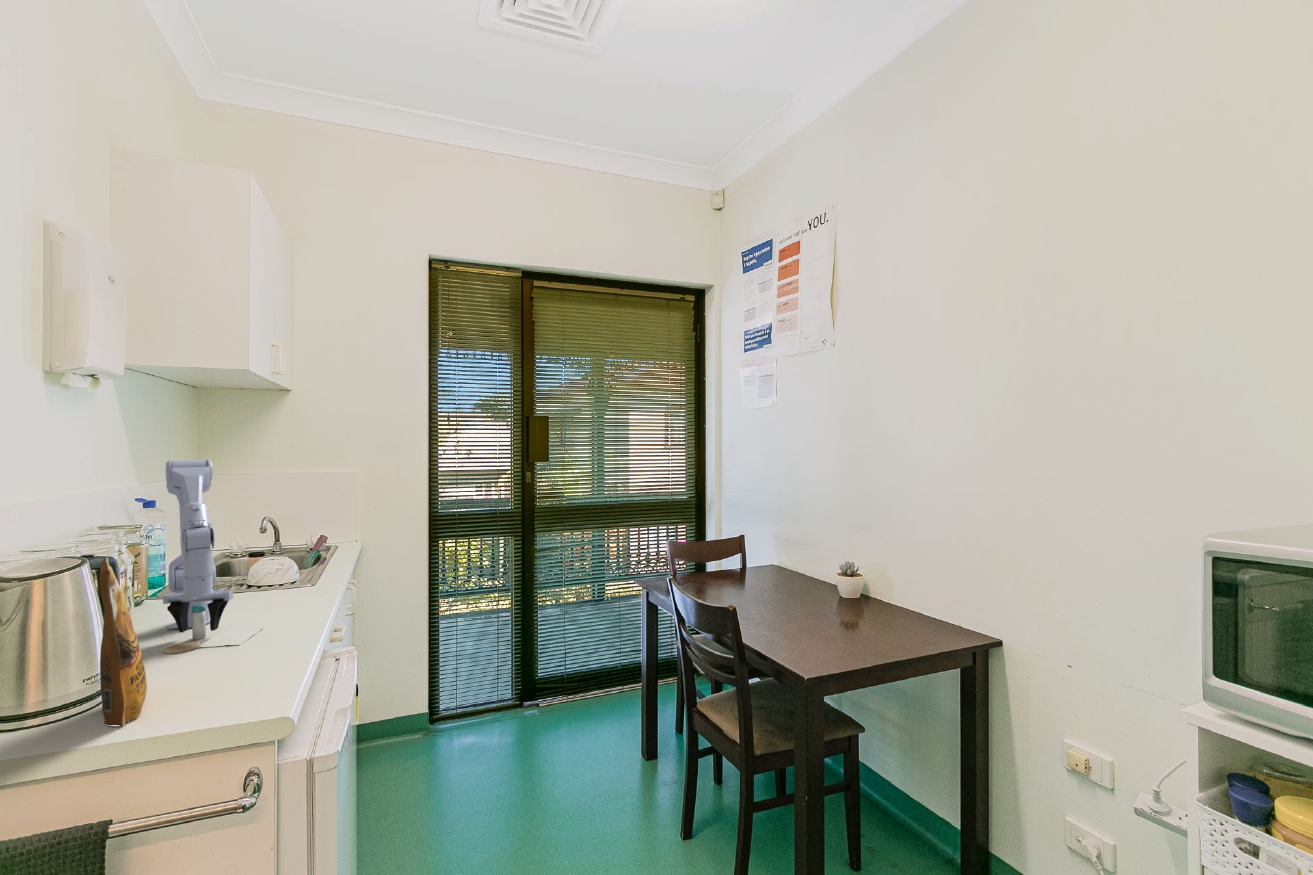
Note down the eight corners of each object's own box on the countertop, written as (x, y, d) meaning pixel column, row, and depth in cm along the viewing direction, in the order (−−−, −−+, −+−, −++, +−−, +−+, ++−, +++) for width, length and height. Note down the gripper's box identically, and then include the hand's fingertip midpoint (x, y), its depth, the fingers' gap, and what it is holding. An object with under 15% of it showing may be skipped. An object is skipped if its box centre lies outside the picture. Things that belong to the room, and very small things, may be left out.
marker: (196, 637, 149) (195, 605, 149) (208, 636, 150) (207, 604, 150) (189, 640, 146) (189, 608, 146) (202, 640, 147) (201, 607, 147)
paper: (224, 631, 153) (224, 630, 153) (263, 629, 155) (263, 628, 155) (197, 648, 141) (197, 647, 141) (239, 645, 143) (239, 644, 143)
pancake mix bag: (85, 738, 100) (83, 571, 99) (105, 697, 115) (102, 553, 115) (139, 727, 103) (136, 566, 103) (150, 688, 119) (148, 549, 119)
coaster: (174, 644, 144) (174, 642, 144) (207, 642, 145) (207, 640, 145) (156, 655, 137) (156, 653, 137) (190, 652, 138) (190, 651, 138)
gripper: (154, 581, 143) (155, 637, 143) (222, 578, 145) (223, 633, 145) (172, 574, 150) (173, 628, 150) (236, 571, 152) (237, 624, 152)
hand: (199, 630), depth 148 cm, fingers open, 6 cm apart
